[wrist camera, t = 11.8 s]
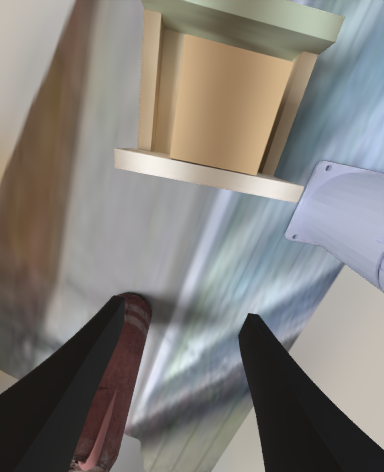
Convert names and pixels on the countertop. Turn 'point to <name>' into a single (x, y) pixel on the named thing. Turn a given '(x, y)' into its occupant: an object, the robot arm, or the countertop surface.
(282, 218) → the countertop surface
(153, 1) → the wooden cubby shelf
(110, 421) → the can
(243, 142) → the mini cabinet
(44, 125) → the countertop surface
